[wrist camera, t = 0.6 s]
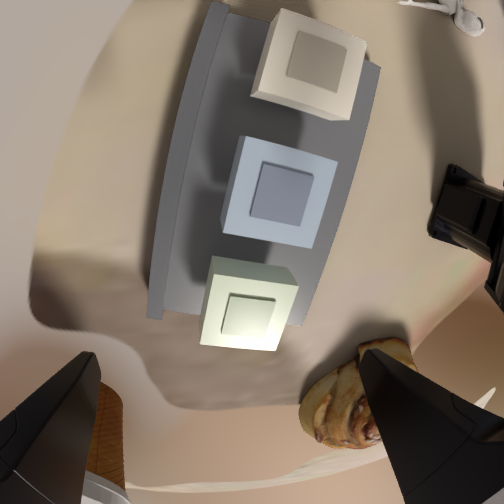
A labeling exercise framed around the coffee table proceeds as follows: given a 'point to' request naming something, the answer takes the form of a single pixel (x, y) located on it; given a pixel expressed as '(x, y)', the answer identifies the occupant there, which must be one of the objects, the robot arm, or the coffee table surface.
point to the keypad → (221, 160)
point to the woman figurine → (463, 19)
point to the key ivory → (309, 66)
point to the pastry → (347, 401)
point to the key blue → (276, 193)
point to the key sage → (245, 304)
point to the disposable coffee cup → (106, 453)
